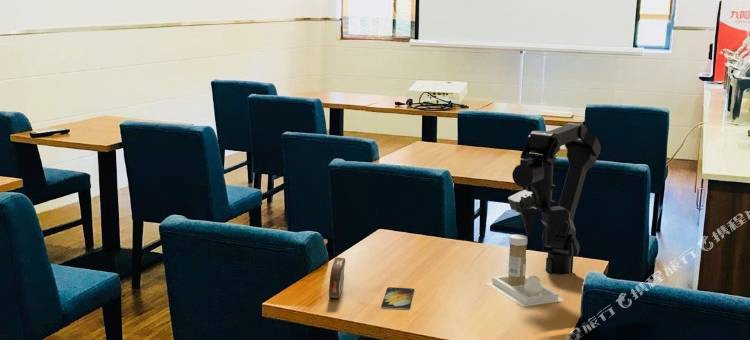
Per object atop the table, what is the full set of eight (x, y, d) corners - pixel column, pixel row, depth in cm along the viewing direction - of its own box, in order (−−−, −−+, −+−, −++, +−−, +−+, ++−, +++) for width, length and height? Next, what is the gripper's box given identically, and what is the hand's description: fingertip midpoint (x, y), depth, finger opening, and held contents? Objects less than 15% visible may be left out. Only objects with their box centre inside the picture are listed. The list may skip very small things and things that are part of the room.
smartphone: (414, 288, 220) (409, 308, 205) (414, 290, 220) (409, 311, 205) (387, 286, 221) (380, 306, 206) (387, 289, 221) (380, 309, 206)
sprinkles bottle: (528, 287, 219) (531, 237, 216) (515, 290, 216) (517, 239, 214) (516, 282, 223) (519, 232, 220) (503, 285, 220) (505, 235, 218)
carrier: (525, 281, 226) (526, 272, 226) (564, 304, 210) (564, 294, 210) (485, 286, 222) (486, 277, 222) (522, 310, 206) (522, 300, 205)
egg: (535, 292, 215) (536, 272, 214) (545, 298, 211) (546, 277, 210) (520, 294, 213) (521, 274, 212) (529, 300, 209) (530, 279, 208)
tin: (334, 283, 224) (334, 252, 222) (346, 283, 224) (346, 252, 222) (327, 303, 209) (327, 270, 207) (340, 303, 209) (340, 271, 207)
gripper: (495, 175, 222) (492, 233, 225) (533, 190, 205) (530, 252, 208) (531, 172, 226) (529, 229, 229) (572, 187, 209) (569, 248, 212)
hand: (538, 239), depth 219 cm, fingers open, 9 cm apart
